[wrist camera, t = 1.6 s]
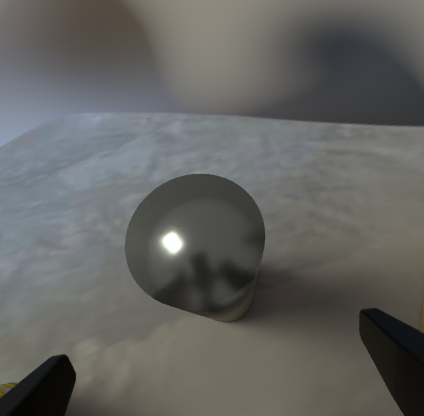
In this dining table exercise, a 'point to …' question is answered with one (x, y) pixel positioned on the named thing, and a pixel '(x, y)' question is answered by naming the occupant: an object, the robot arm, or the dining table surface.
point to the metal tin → (197, 246)
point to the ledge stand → (422, 320)
